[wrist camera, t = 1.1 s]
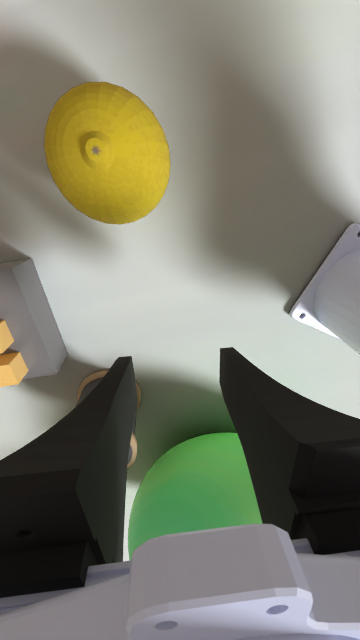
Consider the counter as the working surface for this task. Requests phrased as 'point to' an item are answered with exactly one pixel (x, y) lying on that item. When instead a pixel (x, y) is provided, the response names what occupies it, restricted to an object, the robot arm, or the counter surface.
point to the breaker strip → (26, 326)
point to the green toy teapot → (194, 490)
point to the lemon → (107, 152)
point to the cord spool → (89, 385)
